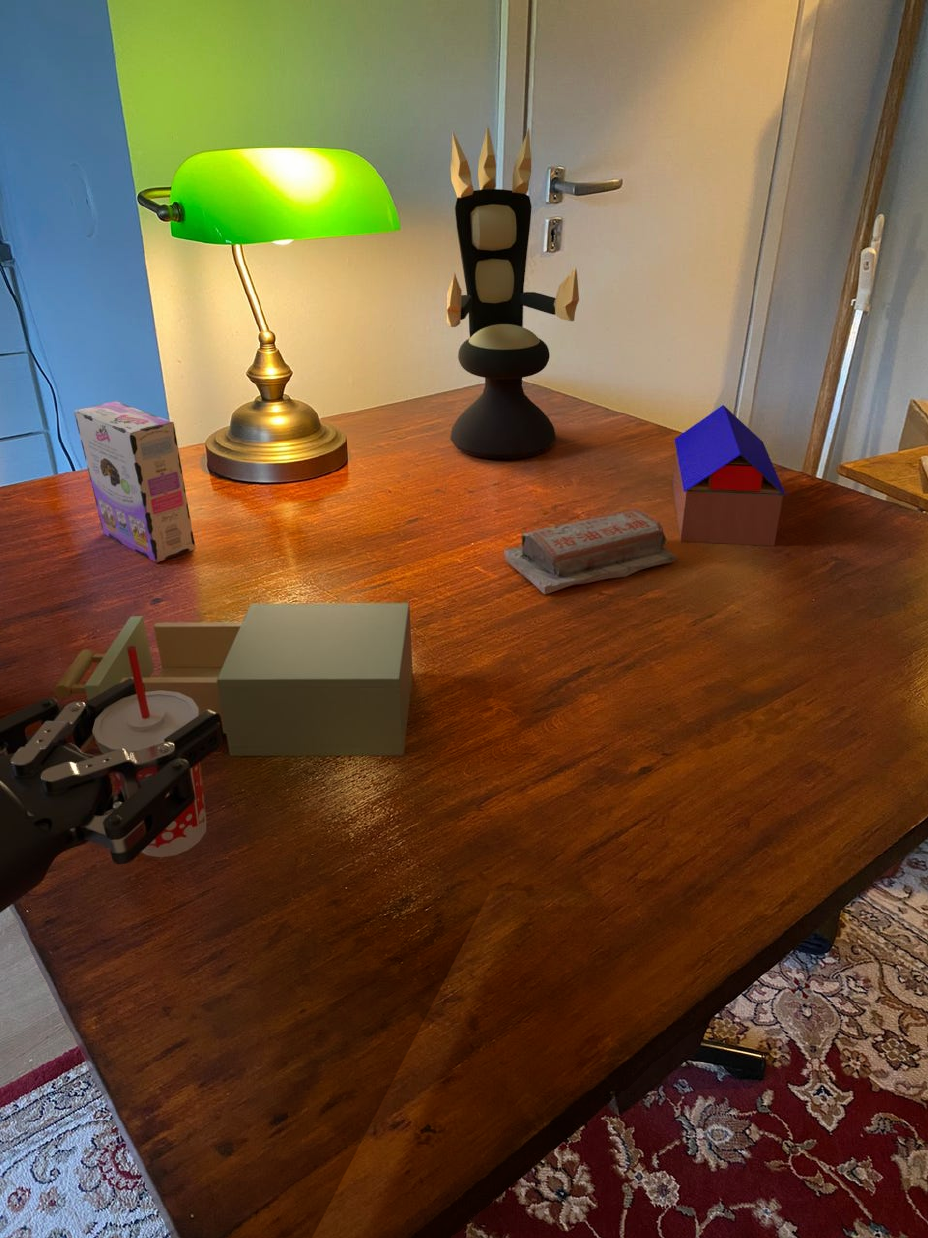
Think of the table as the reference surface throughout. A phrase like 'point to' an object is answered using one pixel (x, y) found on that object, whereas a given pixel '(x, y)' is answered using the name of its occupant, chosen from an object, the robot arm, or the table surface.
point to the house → (725, 484)
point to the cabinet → (318, 680)
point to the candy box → (136, 479)
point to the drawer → (184, 655)
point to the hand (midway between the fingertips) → (177, 707)
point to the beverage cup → (146, 726)
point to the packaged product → (590, 550)
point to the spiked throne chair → (500, 309)
